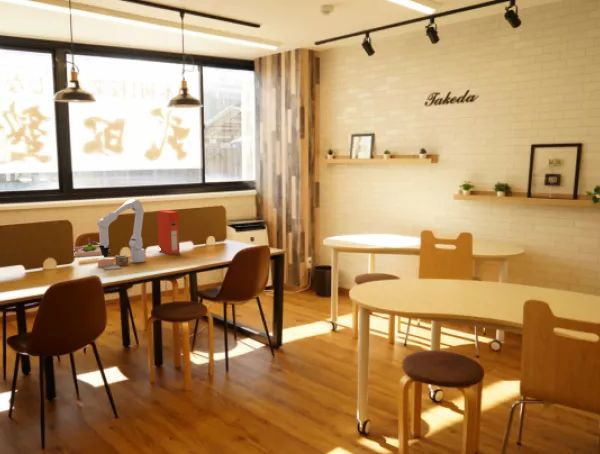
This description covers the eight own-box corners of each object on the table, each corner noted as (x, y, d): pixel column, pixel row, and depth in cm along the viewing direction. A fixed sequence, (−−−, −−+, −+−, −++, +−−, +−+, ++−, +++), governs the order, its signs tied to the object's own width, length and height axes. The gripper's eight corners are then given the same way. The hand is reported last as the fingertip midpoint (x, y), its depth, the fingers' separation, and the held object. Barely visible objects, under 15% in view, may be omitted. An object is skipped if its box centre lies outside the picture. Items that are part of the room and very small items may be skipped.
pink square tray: (104, 248, 427) (104, 244, 427) (110, 254, 405) (109, 250, 405) (70, 251, 415) (70, 247, 415) (74, 257, 394) (74, 253, 393)
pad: (118, 265, 366) (118, 265, 366) (121, 268, 358) (121, 267, 358) (102, 267, 362) (102, 266, 362) (105, 270, 353) (105, 269, 353)
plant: (101, 249, 424) (100, 235, 422) (106, 254, 407) (106, 239, 406) (73, 252, 413) (73, 237, 412) (78, 256, 397) (77, 241, 395)
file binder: (170, 254, 405) (169, 212, 400) (158, 251, 417) (157, 210, 413) (179, 253, 411) (178, 212, 406) (167, 250, 423) (166, 209, 418)
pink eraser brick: (113, 265, 370) (112, 257, 369) (113, 265, 367) (113, 258, 366) (97, 266, 365) (97, 259, 364) (98, 267, 362) (98, 260, 361)
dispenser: (126, 263, 375) (126, 254, 374) (128, 264, 370) (128, 255, 369) (115, 264, 372) (115, 255, 371) (117, 265, 366) (117, 256, 366)
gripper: (96, 235, 367) (96, 254, 369) (99, 238, 355) (100, 258, 356) (106, 234, 370) (107, 254, 372) (110, 237, 358) (111, 257, 360)
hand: (104, 256), depth 365 cm, fingers open, 7 cm apart
